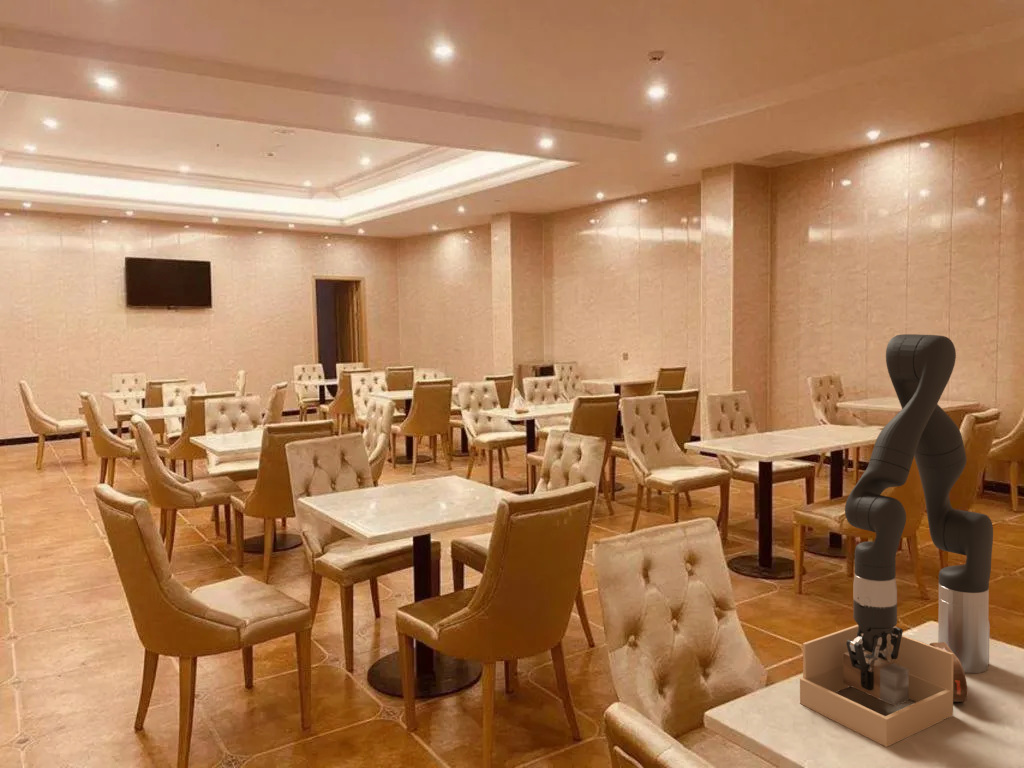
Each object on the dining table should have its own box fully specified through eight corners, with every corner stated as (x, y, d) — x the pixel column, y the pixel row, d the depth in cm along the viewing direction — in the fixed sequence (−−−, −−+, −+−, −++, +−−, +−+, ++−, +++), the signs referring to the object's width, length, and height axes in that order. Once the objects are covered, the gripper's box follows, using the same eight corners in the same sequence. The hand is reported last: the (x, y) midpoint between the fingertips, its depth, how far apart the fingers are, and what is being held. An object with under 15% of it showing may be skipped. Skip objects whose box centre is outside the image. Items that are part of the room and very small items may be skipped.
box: (856, 677, 155) (856, 648, 155) (908, 700, 146) (908, 669, 145) (843, 682, 153) (843, 653, 153) (895, 706, 144) (894, 674, 143)
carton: (864, 677, 162) (865, 621, 161) (952, 715, 146) (953, 653, 145) (800, 703, 153) (799, 644, 152) (886, 746, 137) (886, 680, 136)
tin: (968, 710, 148) (969, 667, 147) (950, 709, 149) (951, 666, 148) (942, 674, 163) (942, 635, 162) (925, 673, 163) (925, 634, 163)
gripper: (881, 585, 155) (881, 668, 156) (833, 600, 148) (833, 687, 149) (916, 596, 148) (916, 683, 149) (868, 612, 141) (868, 703, 143)
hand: (875, 684), depth 149 cm, fingers closed on box, 4 cm apart
